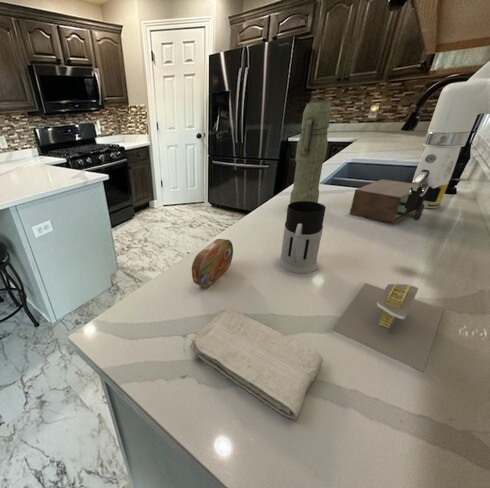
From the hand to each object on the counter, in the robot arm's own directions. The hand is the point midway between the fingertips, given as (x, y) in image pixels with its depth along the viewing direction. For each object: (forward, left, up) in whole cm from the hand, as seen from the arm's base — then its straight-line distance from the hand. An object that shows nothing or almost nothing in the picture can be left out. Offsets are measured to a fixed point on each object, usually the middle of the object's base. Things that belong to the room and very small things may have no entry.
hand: (420, 205), depth 72 cm
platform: (-14, +45, -7) cm, 47 cm away
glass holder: (+6, +43, -7) cm, 44 cm away
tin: (+16, +60, -7) cm, 63 cm away
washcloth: (-6, +70, -7) cm, 71 cm away
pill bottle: (+4, -21, -7) cm, 22 cm away
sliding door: (+2, -2, -5) cm, 6 cm away
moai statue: (+29, +8, -7) cm, 31 cm away
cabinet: (+10, -6, -7) cm, 13 cm away
